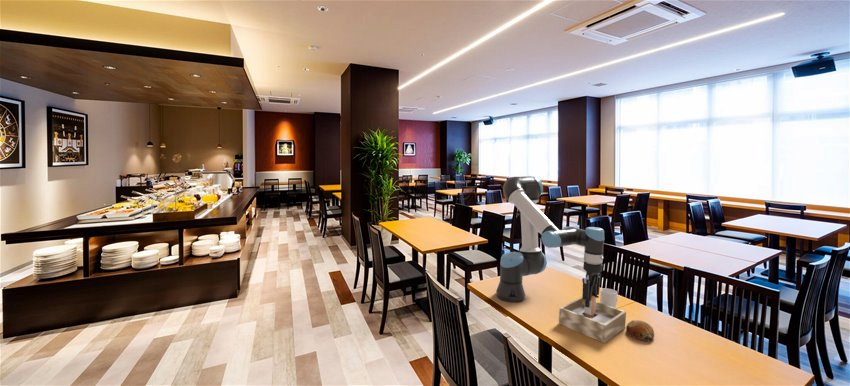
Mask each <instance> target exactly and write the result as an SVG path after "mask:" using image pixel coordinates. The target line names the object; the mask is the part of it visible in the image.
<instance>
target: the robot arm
mask: <svg viewBox="0 0 850 386" xmlns="http://www.w3.org/2000/svg"><path fill="white" fill-rule="evenodd" d="M502 190H503V191H502V192H503V195H504V197H505V199H506V200H507V202H508V203H509V204H512V205H514V207H516V208H517V210H519V212H520V225H521V244H522V245H521V247H520V249H519V251H508V252H504V253H503V254H502V255H501V257H500V263H499V264H500V267H499V268H500V270H499V274H500V275H499V283H498V285H497V289H496V292H495V293H496V295H495V296H496V298H498V299H499V300H501V301H504V302H507V303H520V302H523V301H525V299H526V292H525V288H524V286H523V278H524V277H527V276H531V275H539V274H541V273H542V272H544V271H545V270H546V268H547V263H548V260H547V257H546V255H545V254H544V252H542V249H541V248H540V247H539V234H540V235H541V242H542V245H544V246H545V247H546V248H548V249H550V248H554V249H555V248H556V249H557V248H559V247H566V246H573V245H576V246H581V247H584V250H583V265H582V266H583V267H582V268H583V271H585V272H586V273H585V278H584V277H582V280H581V281H582V296H581V297H582V298H583V299H585V308H584V313H587V314H589V315H591V307H592V300H591V296H592V295H593V296H595V309H596V302H597V299H599V298H600V297H599V294H600V290H601V289H600V286H601V277H602V274H601V273H602V272H603V260H604V246H605V245H604V244H605V230H604V229H603V228H601V227H597V226H596V227H595V226H588V227H586V228H585V229H581V228H577V227H575V226H565V227H564V228H562V229H560V228H558V227H557V226H556V225H555V224H554V223H553V222H552V221H551V220H550V219H549V218H548V217H547V216H546V215H545V214H544V212H543V211H542V210H541V209H540V208H538V206H537V203H538V202H539V201H540V197H541V195H542V194H543V192H544V187H543V183H542V181H541V180H540V179H539V177H537V176H530V175H528V176H512V177H509V178H507V180H506V181H504V184H503V187H502ZM594 312H595V310H594Z"/></svg>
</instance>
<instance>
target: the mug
mask: <svg viewBox="0 0 850 386" xmlns="http://www.w3.org/2000/svg"><path fill="white" fill-rule="evenodd" d="M599 298H600V301H599V303H602V304H605V305H608V306H611V307H614V308H617V303H618V291H617V290H615V289H612V288H605V287H604V288H603V287H602V288H601V289H600V297H599Z"/></svg>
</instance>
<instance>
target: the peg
mask: <svg viewBox="0 0 850 386" xmlns="http://www.w3.org/2000/svg"><path fill="white" fill-rule="evenodd" d="M591 300H592V307H591V315H589V314H587V313H585V315H586V316H588V317H591V318H594V310H595V296H593V295H592V296H591Z"/></svg>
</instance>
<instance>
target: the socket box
mask: <svg viewBox="0 0 850 386" xmlns="http://www.w3.org/2000/svg"><path fill="white" fill-rule="evenodd" d="M584 308H585V299H583V298H582V296H580V297H579V298H576V299H574V300H572V301H571V302H569V303H566V304H564V305H563V306H561V307H559V309H558V310H559V311H558V313H559V314H558V325H561V326H564V327H565V328H568V329H570V330H572V331H574V332H577V333H580V334H582V335H584V336H587V337H589V338H591V339H594V340H595V341H599V342H601V343H604V344H605V343H607V342H608V341H610V340H611V339H612V338H614V337H615V336H616V335H617V334H619V333H620V332H622V331H623V330H625V328H626V320H627V311H626V310H622V309H620V308H617V307H616V308H614V307H611V306H608V305H605V304H602V303H600V301H599V302H598V301H596V309H595V312H594V318H591V317H588V316H586V315H585V313H584Z"/></svg>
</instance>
